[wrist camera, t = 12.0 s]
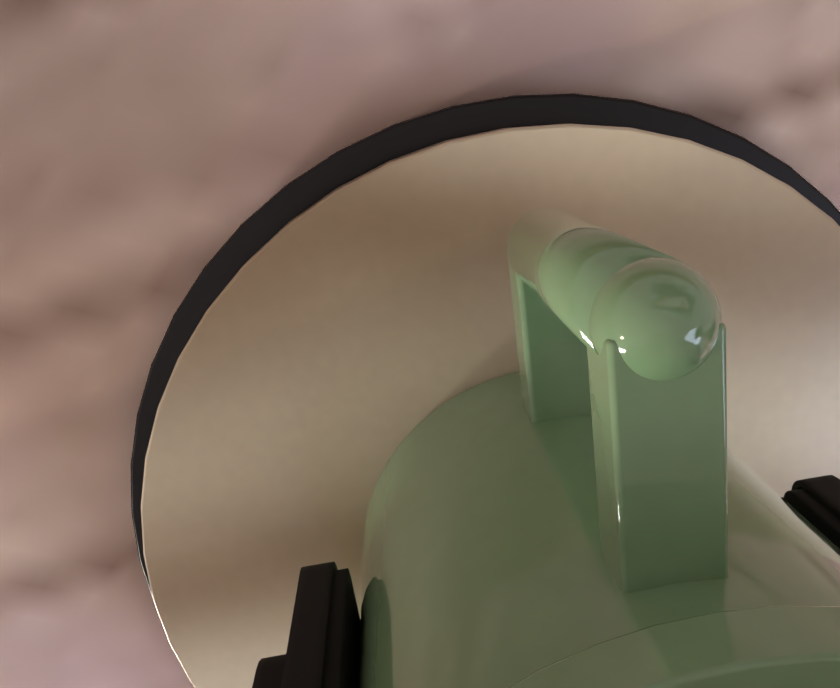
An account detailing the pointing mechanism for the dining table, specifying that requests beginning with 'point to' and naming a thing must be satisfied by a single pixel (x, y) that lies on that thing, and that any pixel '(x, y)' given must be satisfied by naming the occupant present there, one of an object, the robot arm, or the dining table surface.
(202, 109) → the dining table surface
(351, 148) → the base
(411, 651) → the coffee cup on saucer
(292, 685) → the robot arm
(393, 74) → the dining table surface
